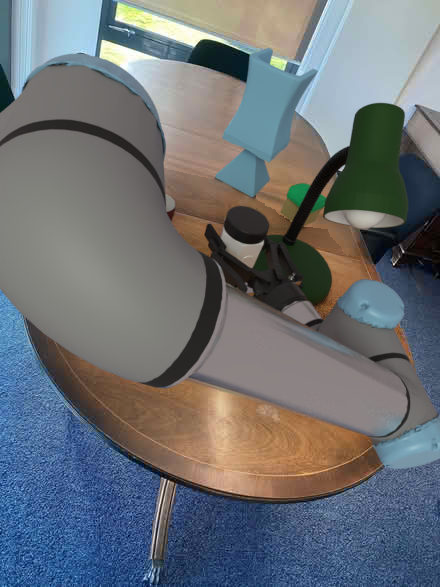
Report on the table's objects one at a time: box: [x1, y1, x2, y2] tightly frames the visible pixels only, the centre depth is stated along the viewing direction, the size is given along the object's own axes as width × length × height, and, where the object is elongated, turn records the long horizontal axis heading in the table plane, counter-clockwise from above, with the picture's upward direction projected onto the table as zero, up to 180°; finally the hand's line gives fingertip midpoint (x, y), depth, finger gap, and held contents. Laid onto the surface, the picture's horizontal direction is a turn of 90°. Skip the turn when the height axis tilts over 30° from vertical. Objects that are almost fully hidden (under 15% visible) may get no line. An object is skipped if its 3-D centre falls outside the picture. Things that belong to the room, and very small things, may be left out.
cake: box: [279, 182, 327, 227], centre depth 116 cm, size 10×11×10 cm
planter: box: [214, 47, 319, 198], centre depth 113 cm, size 16×16×35 cm
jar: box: [218, 205, 270, 268], centre depth 74 cm, size 9×8×12 cm
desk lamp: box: [251, 102, 410, 307], centre depth 80 cm, size 31×23×45 cm
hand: (228, 226), depth 76 cm, fingers closed on jar, 9 cm apart
